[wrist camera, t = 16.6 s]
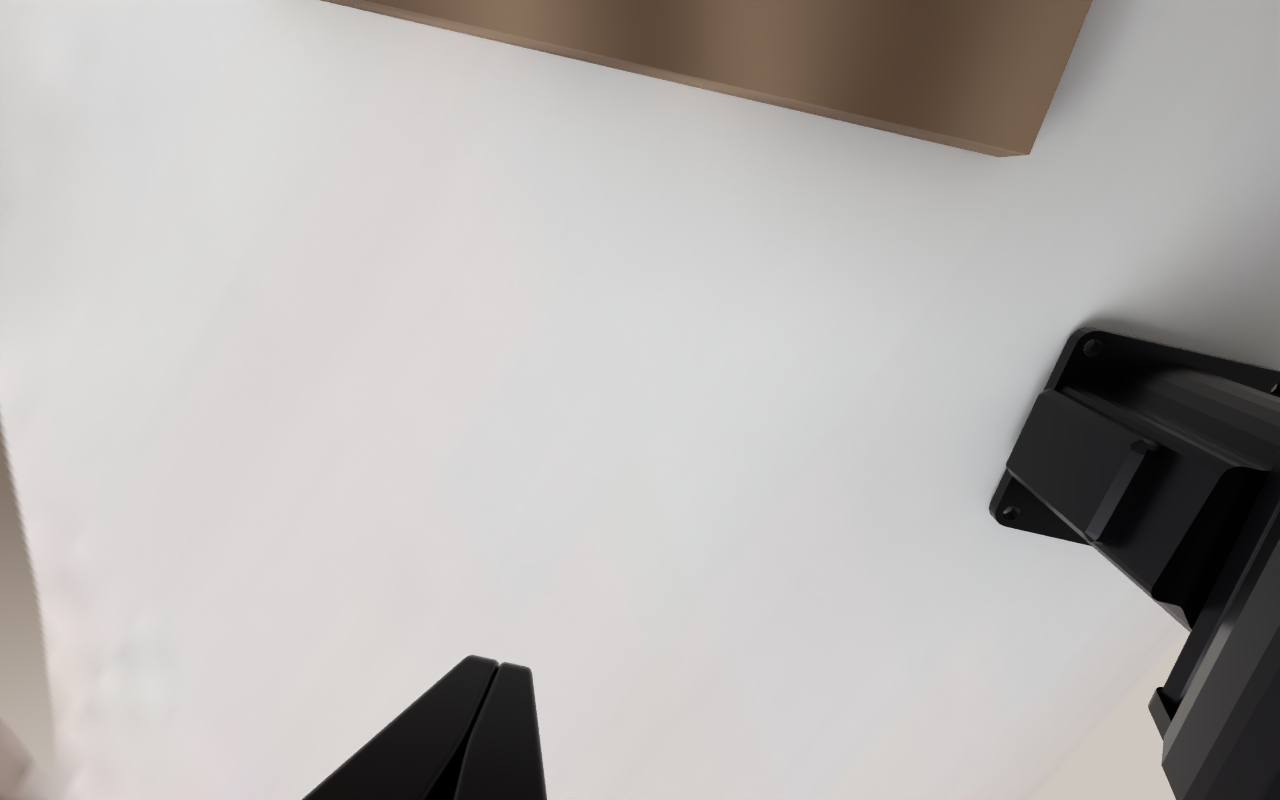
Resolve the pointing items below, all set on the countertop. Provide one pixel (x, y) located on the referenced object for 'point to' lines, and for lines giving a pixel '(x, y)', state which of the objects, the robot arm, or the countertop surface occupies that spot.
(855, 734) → the countertop surface
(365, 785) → the robot arm
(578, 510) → the countertop surface
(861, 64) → the bolt board
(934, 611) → the countertop surface
